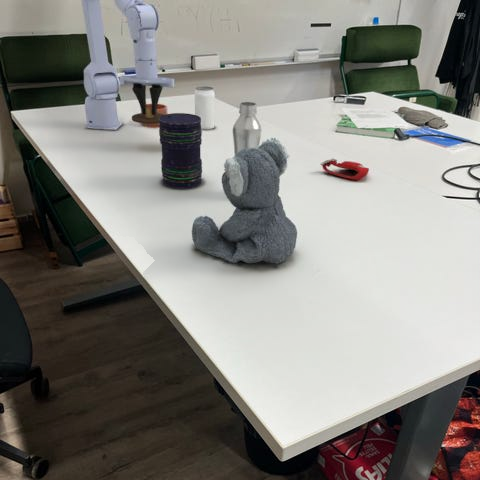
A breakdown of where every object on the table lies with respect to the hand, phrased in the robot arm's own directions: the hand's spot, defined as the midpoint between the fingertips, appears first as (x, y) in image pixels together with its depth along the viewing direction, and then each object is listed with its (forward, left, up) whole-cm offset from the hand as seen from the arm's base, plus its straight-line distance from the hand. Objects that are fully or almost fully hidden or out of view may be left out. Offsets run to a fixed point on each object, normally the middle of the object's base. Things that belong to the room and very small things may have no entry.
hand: (149, 113), depth 134 cm
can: (+11, +25, -10) cm, 30 cm away
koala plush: (+34, -58, -10) cm, 68 cm away
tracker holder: (+55, -11, -10) cm, 57 cm away
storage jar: (+14, -26, -10) cm, 31 cm away
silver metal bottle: (+30, -31, -10) cm, 44 cm away
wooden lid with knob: (0, 0, -1) cm, 1 cm away
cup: (-6, +25, -9) cm, 28 cm away
